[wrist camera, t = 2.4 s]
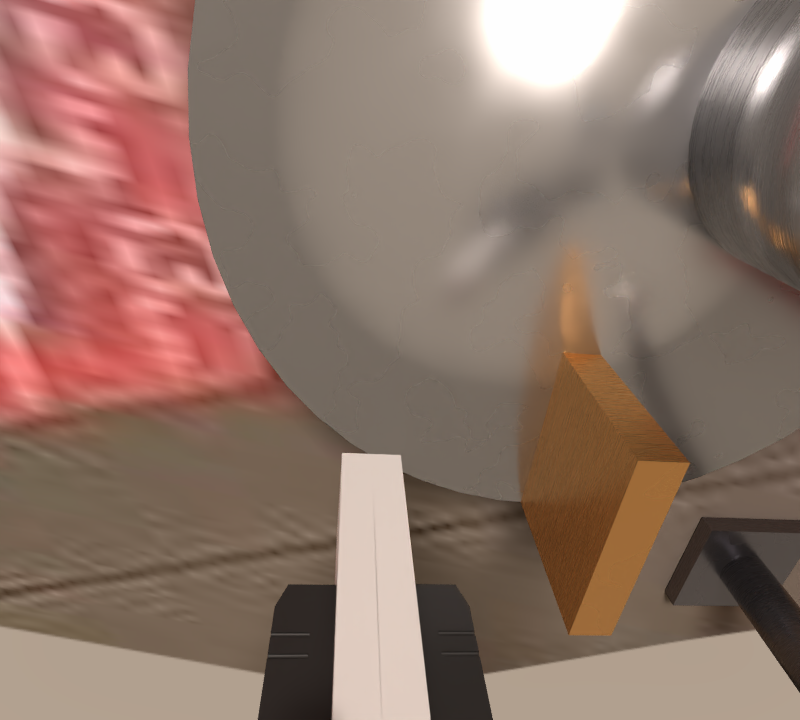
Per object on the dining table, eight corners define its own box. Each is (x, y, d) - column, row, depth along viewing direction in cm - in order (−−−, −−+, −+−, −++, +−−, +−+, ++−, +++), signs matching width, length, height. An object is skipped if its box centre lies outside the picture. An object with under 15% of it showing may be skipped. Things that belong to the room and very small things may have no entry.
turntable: (1245, -324, 11) (2283, -782, 5) (784, 476, 22) (950, 638, 16) (167, -572, 9) (-238, -1888, 3) (230, 454, 20) (169, 632, 13)
